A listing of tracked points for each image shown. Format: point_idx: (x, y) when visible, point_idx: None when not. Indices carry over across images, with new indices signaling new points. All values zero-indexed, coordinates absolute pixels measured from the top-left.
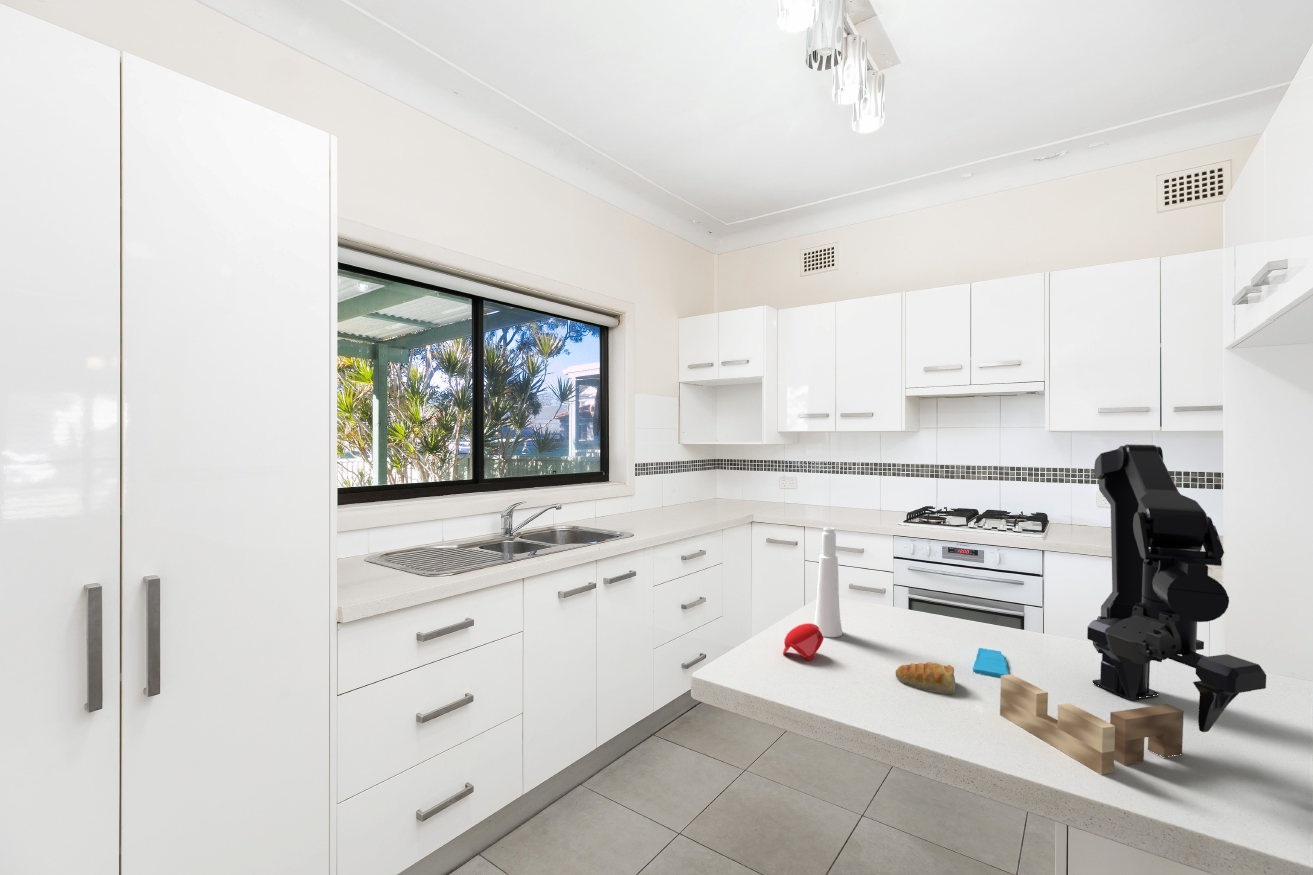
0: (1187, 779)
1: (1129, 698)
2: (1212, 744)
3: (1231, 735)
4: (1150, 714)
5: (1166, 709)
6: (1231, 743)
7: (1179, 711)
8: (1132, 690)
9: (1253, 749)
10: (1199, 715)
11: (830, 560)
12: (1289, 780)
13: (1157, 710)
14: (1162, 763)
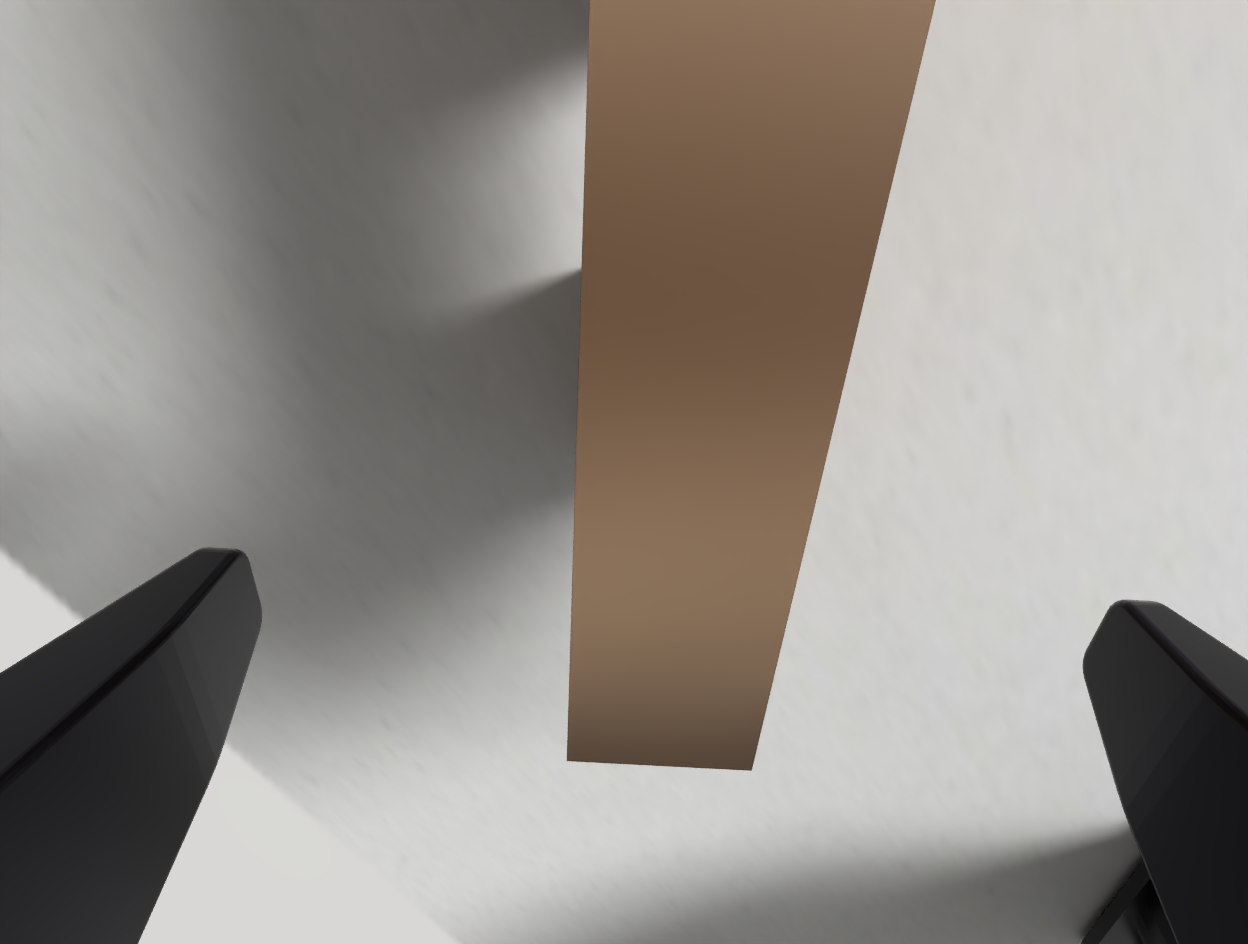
0: (273, 84)
1: (1124, 604)
2: None
3: (659, 863)
4: (622, 290)
5: (657, 643)
6: (601, 802)
7: (569, 714)
8: (1157, 723)
9: (523, 825)
10: (85, 679)
11: None
12: None
13: (679, 522)
14: (540, 157)
